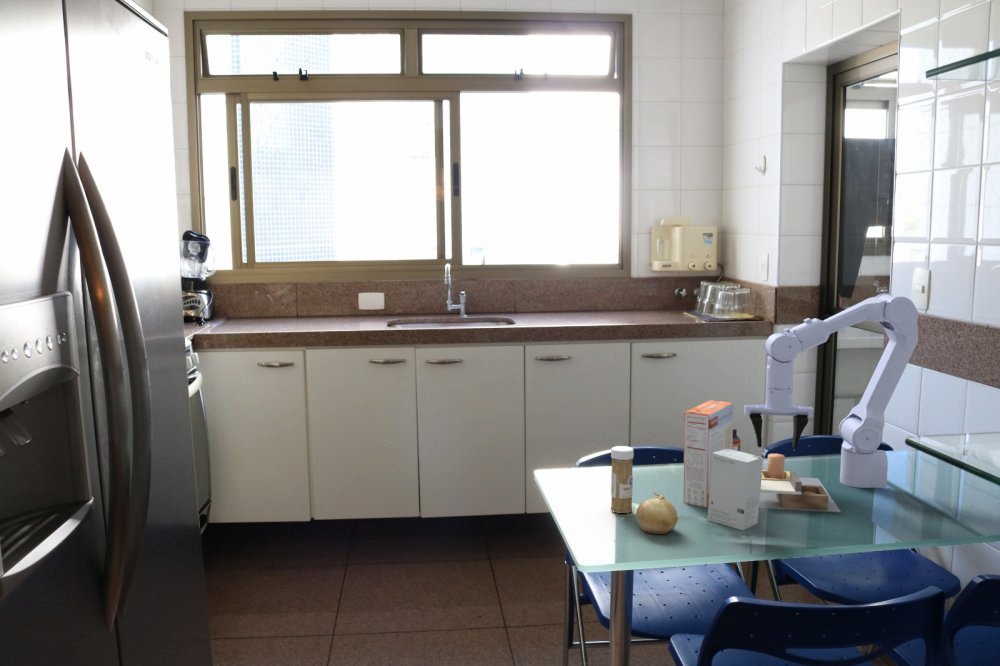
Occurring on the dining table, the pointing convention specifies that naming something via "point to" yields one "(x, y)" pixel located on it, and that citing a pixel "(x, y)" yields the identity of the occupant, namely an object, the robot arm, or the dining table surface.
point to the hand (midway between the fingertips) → (776, 446)
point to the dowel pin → (775, 466)
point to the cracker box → (704, 446)
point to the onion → (656, 515)
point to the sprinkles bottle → (621, 479)
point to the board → (770, 498)
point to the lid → (782, 485)
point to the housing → (805, 499)
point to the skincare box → (735, 488)
